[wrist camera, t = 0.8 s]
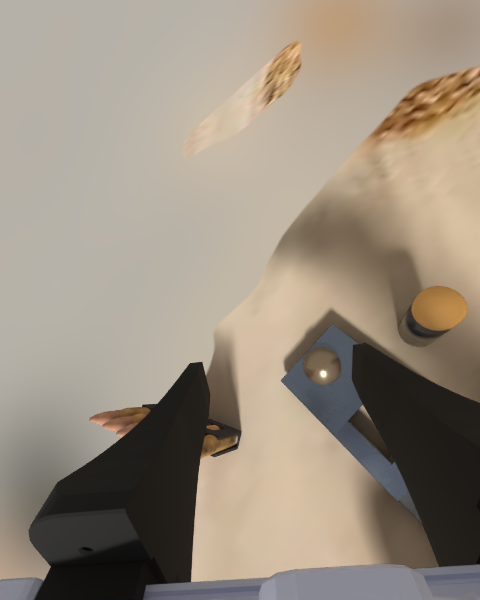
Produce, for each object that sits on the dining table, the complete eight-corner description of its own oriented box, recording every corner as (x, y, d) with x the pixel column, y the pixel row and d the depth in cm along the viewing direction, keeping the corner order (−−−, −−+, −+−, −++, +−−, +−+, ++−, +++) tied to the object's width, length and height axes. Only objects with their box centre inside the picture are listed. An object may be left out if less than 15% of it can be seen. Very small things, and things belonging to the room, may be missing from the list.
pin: (444, 329, 25) (478, 303, 18) (421, 353, 25) (447, 336, 19) (412, 309, 27) (432, 278, 20) (391, 332, 27) (404, 309, 20)
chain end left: (456, 425, 23) (469, 428, 20) (393, 492, 23) (398, 504, 20) (334, 328, 29) (332, 322, 27) (285, 381, 29) (279, 380, 27)
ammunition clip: (163, 417, 34) (78, 426, 23) (168, 403, 34) (87, 405, 24) (237, 449, 29) (172, 478, 19) (241, 431, 29) (180, 450, 19)
